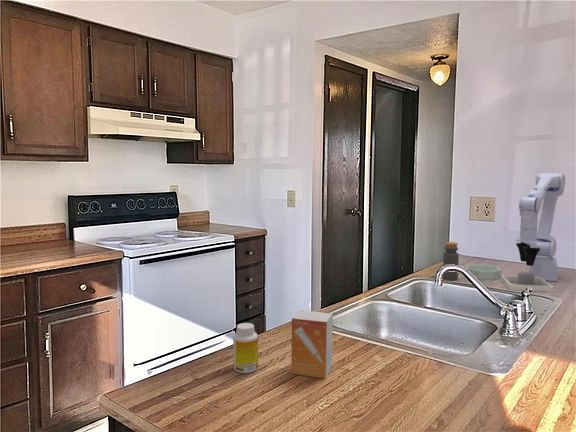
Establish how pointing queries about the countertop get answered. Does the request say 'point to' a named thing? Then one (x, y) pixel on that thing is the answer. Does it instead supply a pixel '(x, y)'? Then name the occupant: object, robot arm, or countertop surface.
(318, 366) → the small box
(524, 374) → the countertop surface
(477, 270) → the bowl
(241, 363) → the supplement bottle
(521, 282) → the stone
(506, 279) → the tray
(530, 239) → the robot arm
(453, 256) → the bottle
